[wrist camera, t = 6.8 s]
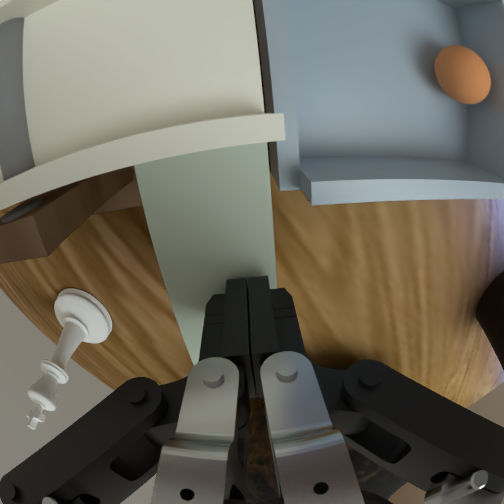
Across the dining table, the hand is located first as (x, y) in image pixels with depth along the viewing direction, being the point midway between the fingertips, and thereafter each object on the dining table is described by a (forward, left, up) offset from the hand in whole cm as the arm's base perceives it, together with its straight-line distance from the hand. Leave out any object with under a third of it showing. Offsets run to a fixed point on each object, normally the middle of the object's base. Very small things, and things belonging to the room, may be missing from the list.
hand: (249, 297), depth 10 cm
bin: (-9, +8, -5) cm, 13 cm away
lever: (-5, -10, +1) cm, 11 cm away
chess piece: (+5, -13, -6) cm, 15 cm away
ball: (-9, +11, -3) cm, 15 cm away
